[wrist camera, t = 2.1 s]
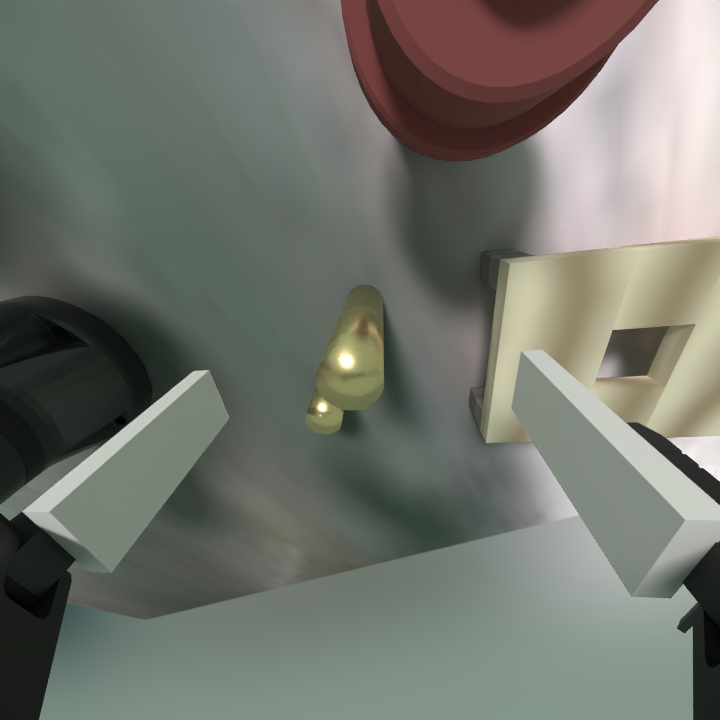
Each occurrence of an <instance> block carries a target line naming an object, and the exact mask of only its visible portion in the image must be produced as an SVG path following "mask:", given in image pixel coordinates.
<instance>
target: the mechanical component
mask: <svg viewBox="0 0 720 720" xmlns="http://www.w3.org/2000/svg"><path fill="white" fill-rule="evenodd" d="M658 1H659V0H341V6H342V16H343V21H344V26H345V31H346V37H347V42H348V47H349V51H350V55H351V59H352V63H353V67H354V70H355V73H356V76H357V78H358V81H359V84H360V87H361V89H362V91H363V93H364V95H365V97H366V99H367V101H368V103H369V105H370V107H371V109H372V110H373V111H374V113H375V114H376V116H377V117H378V119H379V120H380V122H381V123H382V124H383V125H384V126H385V127H386V128H387V130H388V131H389V132H390V133H391V134H392V135H393V136H394V137H395V138H397V139H398V140H399V141H400V142H402V143H403V144H404V145H406V146H407V147H409V148H410V149H412V150H414V151H416V152H418V153H420V154H422V155H425V156H428V157H431V158H434V159H438V160H446V161H470V160H475V159H480V158H484V157H488V156H491V155H493V154H496V153H499V152H501V151H504V150H506V149H508V148H510V147H512V146H514V145H516V144H518V143H520V142H522V141H524V140H525V139H527V138H529V137H531V136H532V135H534V134H535V133H537V132H538V131H540V130H541V129H543V128H544V127H546V126H547V125H548V124H549V123H551V122H552V121H553V120H554V119H555V118H557V117H558V116H559V115H560V114H562V113H563V112H564V111H565V110H566V109H567V108H568V107H569V106H570V105H571V104H572V103H573V102H574V101H575V100H576V99H577V98H578V97H579V96H580V95H581V94H582V93H583V92H584V90H585V89H586V88H587V87H588V85H589V84H590V83H591V82H592V81H593V79H594V78H595V77H596V76H597V74H598V73H599V72H600V71H601V69H602V68H603V66H604V65H605V63H606V62H607V60H608V59H609V57H610V56H611V54H612V53H613V51H614V50H615V48H616V47H617V45H618V44H619V43H620V42H621V41H622V40H623V39H624V38H625V37H626V36H627V35H628V34H629V33H630V32H631V31H632V30H634V29H635V27H636V26H637V25H638V24H639V23H640V22H641V20H642V19H643V18H644V17H645V16H646V15H647V13H648V12H649V11H650V10H651V9H652V8H653V6H654V5H655V4H656V3H657V2H658Z"/></svg>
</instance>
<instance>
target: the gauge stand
mask: <svg viewBox="0 0 720 720" xmlns="http://www.w3.org/2000/svg"><path fill="white" fill-rule="evenodd" d="M480 280H481V281H482V282H484V283H485V284H486V285H488V286H489V287H491V288H492V289H494V290H495V291H496V299H495V308H494V317H493V325H492V334H491V342H490V351H489V359H488V368H487V376H486V385H485V387H478V388H470V398H469V406H470V409H471V411H472V413H473V415H474V417H475V420H476V422H477V424H478V426H479V429H480V431H481V433H482V435H483V438H484V440H485V442H486V443H506V442H533V441H532V440H531V438H530V437H529V435H528V434H527V432H526V430H525V429H524V427H523V426H522V424H521V423H520V421H519V419H518V418H517V416H516V415H515V413H514V412H513V410H512V408H511V406H512V401H513V395H514V389H515V383H516V378H517V372H518V366H519V361H520V355H521V351H528V350H544V351H545V352H546V353H547V354H548V355H549V356H550V357H551V358H553V359H554V360H555V361H556V362H557V363H558V364H559V365H561V366H562V367H563V368H564V369H565V370H566V371H567V372H569V373H570V374H571V375H572V376H573V377H574V378H575V379H577V380H578V381H579V382H580V383H581V384H582V385H583V386H584V387H586V388H587V389H588V390H589V391H590V392H591V393H592V394H594V395H595V396H596V397H597V398H598V399H599V400H600V401H602V402H603V403H604V404H605V405H606V406H607V407H608V408H610V409H611V410H612V411H613V412H614V413H615V414H616V415H617V416H619V417H620V418H621V419H622V420H623V421H624V422H625V423H628V422H638V423H640V424H642V425H644V426H646V427H648V428H649V429H651V430H653V431H655V432H657V433H659V434H661V435H662V436H664V437H665V438H666V437H698V436H720V236H718V237H709V238H699V239H690V240H680V241H671V242H661V243H652V244H643V245H633V246H624V247H614V248H605V249H595V250H586V251H576V252H567V253H557V254H548V255H539V256H533V255H529V254H526V253H523V252H519V251H516V250H512V249H507V250H498V251H489V252H482V260H481V272H480ZM661 326H668V328H667V331H666V333H665V335H664V337H663V340H662V342H661V344H660V347H659V349H658V351H657V353H656V356H655V358H654V360H653V363H652V365H651V367H650V370H649V372H648V374H647V376H631V377H612V378H597V375H598V372H599V369H600V366H601V363H602V360H603V357H604V354H605V351H606V348H607V345H608V342H609V339H610V336H611V333H612V330H621V329H634V328H648V327H661Z"/></svg>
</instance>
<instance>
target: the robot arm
mask: <svg viewBox="0 0 720 720" xmlns="http://www.w3.org/2000/svg"><path fill="white" fill-rule="evenodd" d="M150 399H151V390H150V384H149V380H148V377H147V374H146V372H145V370H144V368H143V366H142V364H141V362H140V361H139V359H138V358H137V356H136V355H135V353H134V352H133V351H132V349H131V348H130V347H129V346H128V345H127V344H126V343H125V342H124V340H123V339H122V338H121V337H119V336H118V335H117V334H116V333H115V332H114V331H113V330H112V329H110V328H109V327H108V326H107V325H105V324H104V323H103V322H101V321H100V320H98V319H97V318H95V317H94V316H92V315H90V314H89V313H87V312H85V311H83V310H81V309H79V308H77V307H75V306H73V305H70V304H68V303H65V302H62V301H59V300H56V299H52V298H47V297H41V296H23V297H17V298H13V299H9V300H5V301H0V504H1V503H3V502H4V501H5V500H7V499H8V498H9V497H10V496H12V495H13V494H14V493H15V492H17V491H18V490H19V489H21V488H22V487H23V486H24V485H26V484H27V483H28V482H29V481H31V480H32V479H33V478H35V477H36V476H37V475H39V474H40V473H41V472H43V471H44V470H45V469H47V468H48V467H50V466H51V465H53V464H56V463H58V462H60V461H62V460H64V459H67V458H69V457H71V456H73V455H75V454H78V453H80V452H82V451H84V450H87V449H89V448H91V447H93V446H95V445H98V444H100V443H102V442H104V441H106V440H109V439H110V440H109V441H108V442H106V443H105V444H104V445H103V446H102V447H100V448H99V449H98V450H96V451H95V452H94V453H93V454H92V455H90V456H89V457H88V458H87V459H85V460H84V461H83V462H82V463H81V464H79V465H78V466H77V467H76V468H74V469H73V470H72V471H71V472H70V473H69V474H67V475H66V476H65V477H63V478H62V479H61V480H60V481H59V482H57V483H56V484H55V485H54V486H52V487H51V488H50V489H49V490H48V491H46V492H45V493H44V494H43V495H41V496H40V497H39V498H38V499H37V500H35V501H34V502H33V503H32V504H30V505H29V506H28V507H27V508H26V509H24V510H23V511H22V512H21V513H19V514H18V515H17V516H16V517H14V518H13V519H12V520H10V521H9V520H8V519H6V518H5V517H4V516H3V515H2V514H1V513H0V720H39V717H40V712H41V708H42V704H43V700H44V695H45V691H46V687H47V683H48V679H49V675H50V670H51V666H52V662H53V658H54V653H55V649H56V645H57V641H58V636H59V632H60V628H61V624H62V619H63V615H64V611H65V607H66V603H67V598H68V594H69V590H70V586H71V581H72V580H71V574H70V573H69V572H68V571H67V569H68V568H69V567H70V566H71V565H72V564H73V562H74V561H75V560H76V561H77V562H78V563H79V564H80V565H81V566H82V567H83V568H84V569H86V570H87V571H88V572H104V573H112V571H113V570H114V569H115V567H116V566H117V565H118V564H119V562H120V561H121V560H122V558H123V557H124V556H125V554H126V553H127V552H128V550H129V549H130V548H131V547H132V545H133V544H134V543H135V541H136V540H137V539H138V537H139V536H140V535H141V533H142V532H143V531H144V530H145V528H146V527H147V526H148V524H149V523H150V522H151V520H152V519H153V518H154V516H155V515H156V514H157V513H158V511H159V510H160V509H161V507H162V506H163V505H164V503H165V502H166V501H167V500H168V498H169V497H170V496H171V494H172V493H173V492H174V490H175V489H176V488H177V486H178V485H179V484H180V483H181V481H182V480H183V479H184V477H185V476H186V475H187V473H188V472H189V471H190V469H191V468H192V467H193V466H194V464H195V463H196V462H197V460H198V459H199V458H200V456H201V455H202V454H203V452H204V451H205V450H206V449H207V447H208V446H209V445H210V443H211V442H212V441H213V439H214V438H215V437H216V435H217V434H218V433H219V432H220V430H221V429H222V428H223V426H224V425H225V424H226V422H227V421H228V420H229V415H228V413H227V411H226V408H225V406H224V404H223V401H222V399H221V397H220V394H219V392H218V390H217V387H216V385H215V383H214V380H213V378H212V376H211V373H210V371H209V370H203V371H193V372H192V373H191V374H189V375H188V376H187V377H186V378H185V379H183V380H182V381H181V382H180V383H178V384H177V385H176V386H175V387H174V388H172V389H171V390H170V391H169V392H167V393H166V394H165V395H164V396H163V397H161V398H160V399H159V400H158V401H156V402H155V403H154V404H153V405H152V406H150V407H149V404H150ZM148 407H149V408H148ZM511 408H512V410H513V412H514V413H515V415H516V416H517V418H518V419H519V421H520V423H521V424H522V426H523V427H524V429H525V430H526V432H527V434H528V435H529V437H530V438H531V440H532V441H533V443H534V445H535V446H536V448H537V449H538V451H539V452H540V454H541V455H542V457H543V459H544V460H545V462H546V463H547V465H548V466H549V468H550V470H551V471H552V473H553V474H554V476H555V477H556V479H557V481H558V482H559V484H560V485H561V487H562V488H563V490H564V492H565V493H566V495H567V496H568V498H569V499H570V501H571V503H572V504H573V506H574V507H575V509H576V510H577V512H578V514H579V515H580V517H581V518H582V520H583V521H584V523H585V525H586V526H587V528H588V529H589V531H590V532H591V534H592V536H593V537H594V539H595V540H596V542H597V543H598V545H599V546H600V548H601V550H602V551H603V552H604V554H605V556H606V557H607V559H608V561H609V562H610V564H611V565H612V567H613V568H614V570H615V571H616V573H617V575H618V576H619V578H620V579H621V581H622V583H623V584H624V586H625V587H626V589H627V590H628V592H629V594H630V595H631V596H634V597H654V598H655V597H656V598H672V596H673V595H674V594H675V593H676V592H677V591H678V589H679V588H680V587H681V586H682V585H683V584H684V585H685V586H686V588H687V589H688V590H689V591H690V593H691V594H692V595H693V596H694V597H695V599H696V600H697V601H698V603H697V604H695V606H694V607H693V608H692V609H691V610H690V611H689V612H688V613H687V614H686V615H685V616H684V617H683V618H682V619H681V620H680V623H679V625H678V628H677V629H679V630H680V631H682V632H683V633H686V631H688V629H690V628H691V627H692V626H693V717H694V718H693V720H720V482H719V481H718V480H717V479H716V478H714V477H713V476H712V475H711V474H710V473H708V472H707V471H706V470H705V469H703V468H699V466H698V464H697V463H696V462H695V461H693V460H692V459H691V458H690V457H688V456H687V455H686V454H682V451H681V450H680V449H679V448H677V447H676V446H675V445H674V444H672V443H671V442H670V441H669V440H667V439H666V438H665V437H664V436H662V435H661V434H659V433H657V432H655V431H653V430H651V429H649V428H648V427H646V426H644V425H642V424H640V423H638V422H628V423H625V422H624V421H623V420H622V419H621V418H620V417H619V416H617V415H616V414H615V413H614V412H613V411H612V410H611V409H610V408H608V407H607V406H606V405H605V404H604V403H603V402H602V401H600V400H599V399H598V398H597V397H596V396H595V395H594V394H592V393H591V392H590V391H589V390H588V389H587V388H586V387H584V386H583V385H582V384H581V383H580V382H579V381H578V380H577V379H575V378H574V377H573V376H572V375H571V374H570V373H569V372H567V371H566V370H565V369H564V368H563V367H562V366H561V365H559V364H558V363H557V362H556V361H555V360H554V359H553V358H551V357H550V356H549V355H548V354H547V353H546V352H545V351H544V350H528V351H521V355H520V361H519V366H518V372H517V378H516V383H515V389H514V395H513V401H512V406H511Z"/></svg>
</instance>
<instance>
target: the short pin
mask: <svg viewBox="0 0 720 720" xmlns="http://www.w3.org/2000/svg"><path fill="white" fill-rule="evenodd" d="M343 414H344V409H340V408H337V407H335V406H333V405H331V404H330V403H328V402H327V401H326V400H325V399H324V398H323V397H322V396H321V394H320V393H319V391H318V388H317V387H316V390H315V392H314V395H313V398H312V400H311V403H310V406H309V408H308V411H307V414H306V417H305V421H306V424H307V426H308V427H309V428H310V429H311V430H312V431H314V432H316V433H318V434H322V435H329V434H333V433H335V432H337V431H338V430H339V429H340V427H341V424H342V419H343Z"/></svg>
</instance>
